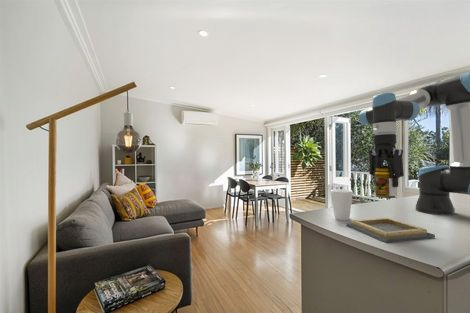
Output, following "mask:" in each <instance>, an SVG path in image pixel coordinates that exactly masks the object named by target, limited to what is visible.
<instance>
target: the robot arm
mask: <svg viewBox="0 0 470 313" xmlns="http://www.w3.org/2000/svg"><path fill="white" fill-rule="evenodd" d="M371 104H372V105H371V107H369V108H366V109H363V110H361V111H360V112H359V115H358V120H359V122H360V124H361V125H363V126H372V132H373V136H372V138H373V140H372V144H373V145H374V146H375V147H374V149H373V150H368V154H369V167H368V169H369V171H368V173H369V175H371V176H372V177H373V184H374V185H375V172H376V166H384V165H383V164H384V161H385V162H386V164H387V165H386V166H388V169H389V172H390V176H391V177H389V196H396V197H397V196H398V187H399V179H400V178H403V177H404V176H405V175H404V164H403V153H404V149H399V148H396V144H397V134H396V133H397V121H398V122H399V121H405V122H406V121H412V120H414V119H416V118H418V116H419V114H420V110H421V109H424V108H427V107H428V108H429V107H434V106H442V105H444V106H445V108H446V109H447V110H449V111H450V124H451V125H450V128H451V140H452V141H451V142H452V156H453V161H452V163H450V164H449V165H447V164H446V165H444V164H443V165H433V166H432V165H431V166H422V167H420V168H419V170H418V184H419V186H418V187H419V191H418V192H419V196H418V199H417V201H416V204H415V211H418V212H421V213H423V214H424V213H425V214H432V215H444V216H445V215H448V216H449V215H455V213H456V208H455V207H454V203H453V202H452V200H451V197H450V195H451V193H452V194H462V195H469V196H470V72H466V73H461V74H458V75H454V76H450V77H447V78H442V79H440V80H435V81H434V82H431V83H429V84H427V85H424V86H422V87H420V88H418V89H415V90H413V91H411V93H410V94H407V95H404V96H401V97H399V98H396V94H395V93H394V92H382V93H379V94H376V95H374V96H373V97H372V103H371Z"/></svg>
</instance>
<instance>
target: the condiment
mask: <svg viewBox="0 0 470 313" xmlns="http://www.w3.org/2000/svg"><path fill="white" fill-rule="evenodd" d="M389 177H391V176H390V172H389V169H388V165H383V166H376V172H375V184H374V193H372V196H373V197H374V198H380V199H381V198H382V199H398V197H397V196H389Z"/></svg>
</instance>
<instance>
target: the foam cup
mask: <svg viewBox="0 0 470 313" xmlns="http://www.w3.org/2000/svg"><path fill="white" fill-rule="evenodd" d="M353 194H354V193H353V190H352V189H346V188H345V189H343V188H336V189H335V188H334V189H331V190H330V196H331V201H332V208H333V213H334V218H335V219H336V220H339V221H347V220H350V218H351V209H352V202H353Z"/></svg>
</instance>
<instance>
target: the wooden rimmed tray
mask: <svg viewBox="0 0 470 313" xmlns="http://www.w3.org/2000/svg"><path fill="white" fill-rule="evenodd" d="M345 226H346V227H347V228H350V229H353V230H355V231H358V232H360V233H362V234H365V235H367V236H369V237H371V238H374V239H376V240H379V241H381V242H384V243H386V244H387V243H397V242H405V241H406V242H407V241H414V240H415V241H416V240H424V239H435V238H436V235H435V234H434V233H430V232H428V229H427V228H423V227H420V226H416V225H412V224H410V223H406V222H402V221H399V220H396V219H393V218H389V217H380V218H379V217H378V218H368V219H367V218H366V219H365V218H364V219H357V220H356V219H355V220H354V219H353V220H351V222H349V223H346V224H345Z"/></svg>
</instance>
